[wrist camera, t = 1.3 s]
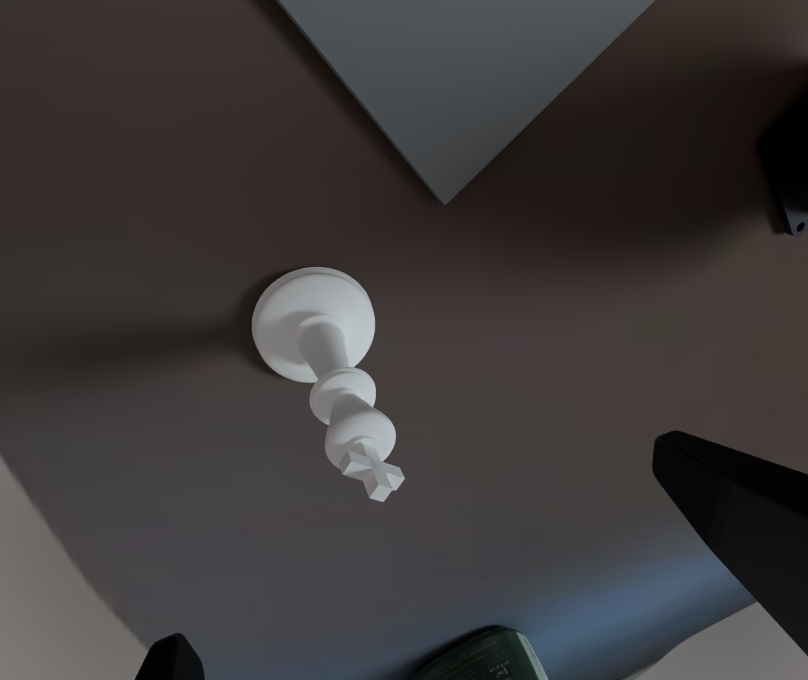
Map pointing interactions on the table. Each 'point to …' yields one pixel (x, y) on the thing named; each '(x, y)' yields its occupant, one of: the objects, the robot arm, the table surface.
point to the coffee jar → (487, 659)
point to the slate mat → (458, 69)
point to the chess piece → (330, 366)
